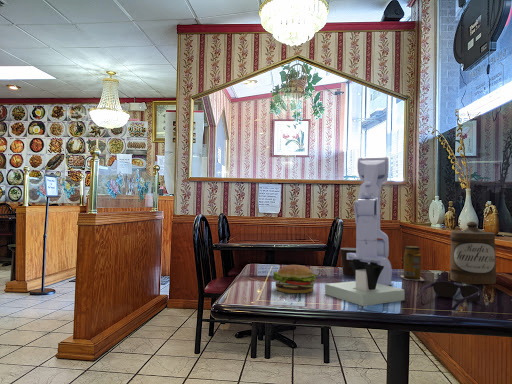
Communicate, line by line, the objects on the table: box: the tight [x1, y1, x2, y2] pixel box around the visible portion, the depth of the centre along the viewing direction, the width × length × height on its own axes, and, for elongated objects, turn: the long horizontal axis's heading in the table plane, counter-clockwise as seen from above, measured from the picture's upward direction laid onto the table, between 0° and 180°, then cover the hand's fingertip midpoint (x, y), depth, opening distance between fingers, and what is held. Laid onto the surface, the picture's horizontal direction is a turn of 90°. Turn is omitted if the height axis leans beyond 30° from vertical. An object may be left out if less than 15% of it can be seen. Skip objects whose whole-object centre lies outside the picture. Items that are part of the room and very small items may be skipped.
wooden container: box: [449, 221, 497, 285], centre depth 147 cm, size 15×15×22 cm
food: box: [273, 264, 318, 295], centre depth 126 cm, size 14×14×8 cm
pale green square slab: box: [324, 280, 405, 307], centre depth 117 cm, size 16×16×3 cm
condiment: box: [400, 245, 425, 282], centre depth 150 cm, size 7×8×12 cm
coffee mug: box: [340, 247, 356, 277], centre depth 156 cm, size 12×9×10 cm
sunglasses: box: [420, 280, 482, 311], centre depth 112 cm, size 14×16×5 cm
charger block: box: [355, 269, 376, 292], centre depth 113 cm, size 4×4×6 cm
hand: (366, 287), depth 113 cm, fingers closed on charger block, 4 cm apart
